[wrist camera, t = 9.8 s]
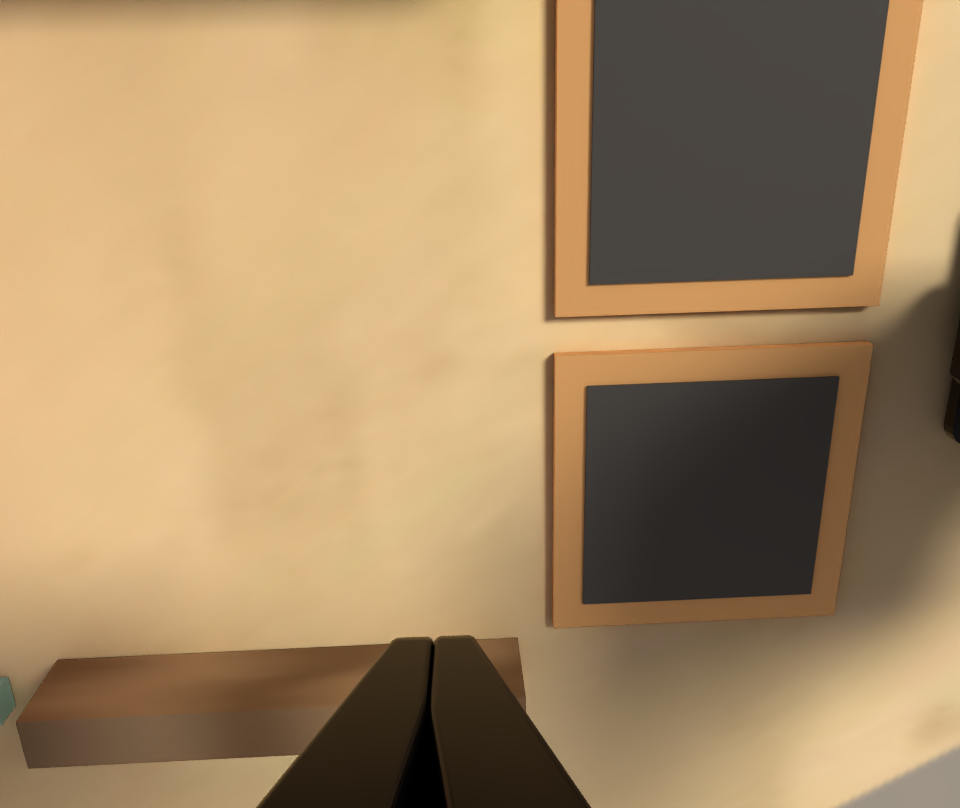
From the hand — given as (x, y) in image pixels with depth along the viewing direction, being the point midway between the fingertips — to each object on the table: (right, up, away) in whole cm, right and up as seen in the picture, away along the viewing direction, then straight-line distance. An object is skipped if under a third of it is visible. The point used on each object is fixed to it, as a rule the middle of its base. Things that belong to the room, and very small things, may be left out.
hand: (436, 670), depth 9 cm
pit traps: (+6, +5, +12) cm, 14 cm away
